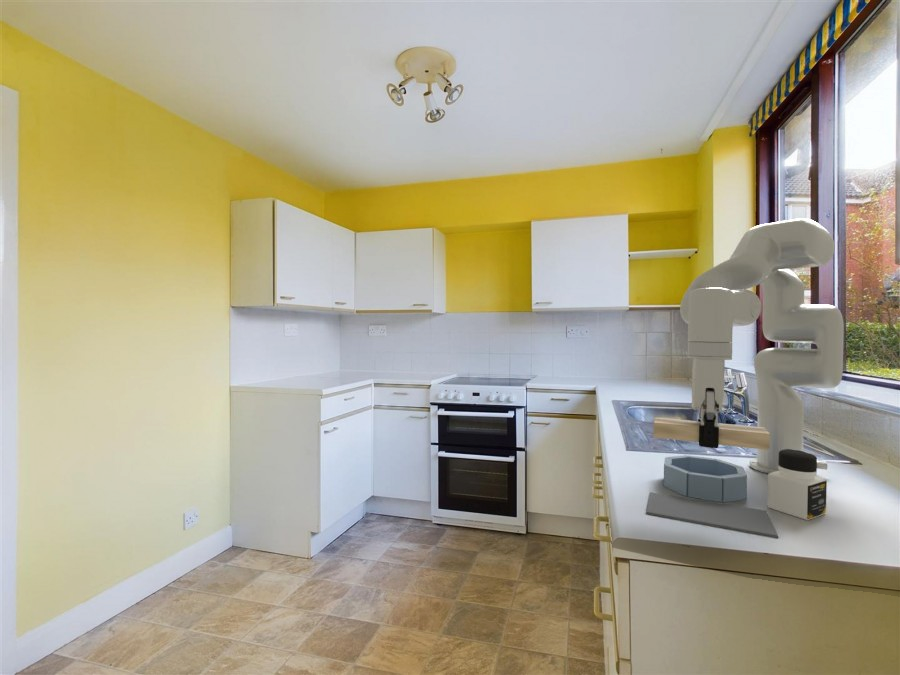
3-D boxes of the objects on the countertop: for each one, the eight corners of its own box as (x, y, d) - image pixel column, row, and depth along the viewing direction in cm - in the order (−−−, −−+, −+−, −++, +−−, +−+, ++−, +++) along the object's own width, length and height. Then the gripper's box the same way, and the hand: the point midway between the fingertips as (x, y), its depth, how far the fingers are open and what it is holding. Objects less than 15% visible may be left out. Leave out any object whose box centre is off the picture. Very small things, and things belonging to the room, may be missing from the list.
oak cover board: (655, 431, 94) (655, 417, 94) (763, 442, 85) (764, 427, 85) (653, 437, 88) (653, 422, 88) (769, 450, 80) (769, 433, 79)
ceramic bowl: (740, 482, 105) (740, 461, 104) (749, 506, 90) (750, 482, 90) (665, 472, 112) (665, 452, 112) (662, 492, 98) (663, 470, 98)
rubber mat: (766, 512, 87) (766, 510, 87) (778, 537, 77) (778, 535, 77) (650, 493, 97) (650, 491, 97) (646, 513, 86) (646, 511, 86)
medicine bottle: (808, 521, 84) (809, 458, 83) (766, 507, 90) (767, 449, 90) (826, 514, 87) (828, 453, 87) (785, 501, 93) (786, 445, 93)
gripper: (687, 349, 96) (685, 432, 96) (688, 352, 80) (686, 450, 81) (727, 350, 92) (725, 436, 92) (737, 353, 77) (734, 456, 77)
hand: (707, 442), depth 87 cm, fingers closed on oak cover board, 6 cm apart
